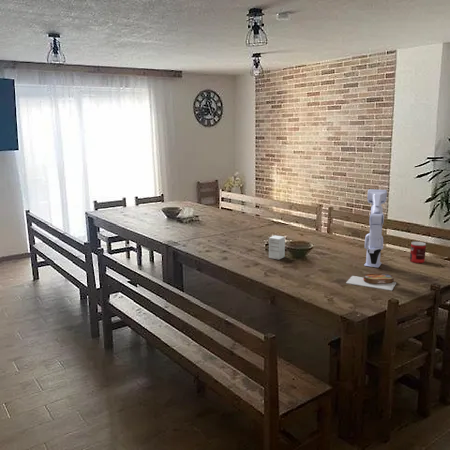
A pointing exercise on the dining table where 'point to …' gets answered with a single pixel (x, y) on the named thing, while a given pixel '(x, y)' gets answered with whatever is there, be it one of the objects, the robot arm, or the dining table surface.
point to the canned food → (417, 252)
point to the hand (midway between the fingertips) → (373, 263)
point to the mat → (361, 282)
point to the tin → (378, 278)
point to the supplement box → (276, 247)
